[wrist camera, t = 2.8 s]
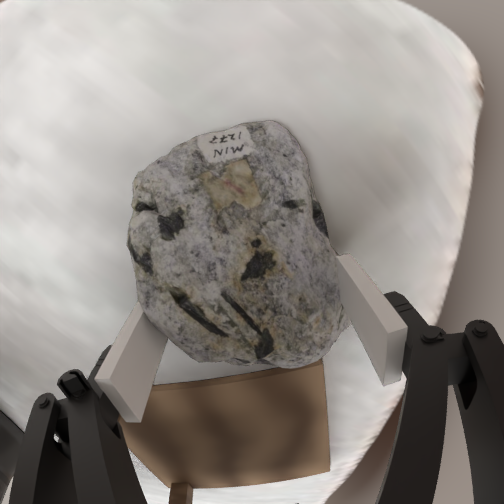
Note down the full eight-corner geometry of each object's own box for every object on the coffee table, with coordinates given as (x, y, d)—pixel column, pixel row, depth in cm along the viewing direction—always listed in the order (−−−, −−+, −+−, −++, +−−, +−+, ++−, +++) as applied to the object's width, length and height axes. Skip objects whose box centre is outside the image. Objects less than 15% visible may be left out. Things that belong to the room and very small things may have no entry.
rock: (344, 315, 21) (381, 376, 14) (216, 358, 22) (212, 430, 15) (281, 112, 16) (309, 87, 10) (128, 173, 17) (72, 186, 10)
